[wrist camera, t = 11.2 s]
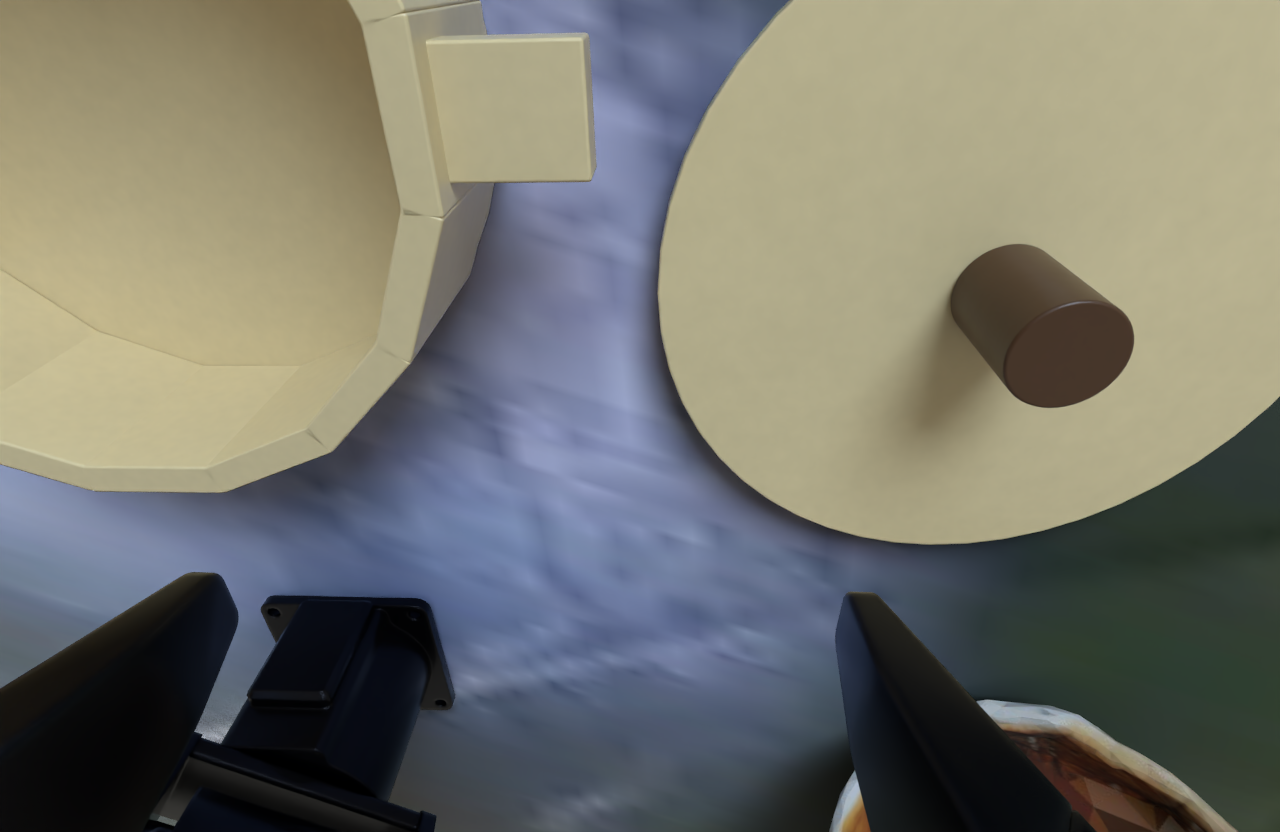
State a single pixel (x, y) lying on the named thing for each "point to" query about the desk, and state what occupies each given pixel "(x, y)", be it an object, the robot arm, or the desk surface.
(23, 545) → the desk surface
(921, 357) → the cooker lid
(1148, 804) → the clay pot
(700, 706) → the desk surface
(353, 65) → the cooker
